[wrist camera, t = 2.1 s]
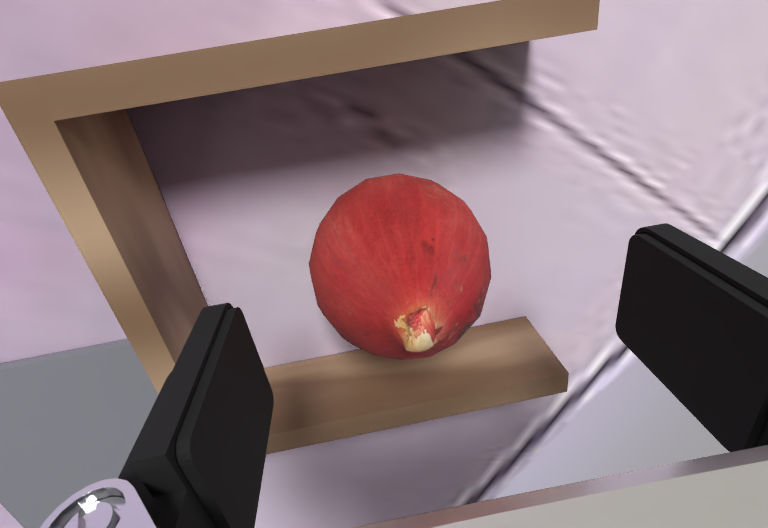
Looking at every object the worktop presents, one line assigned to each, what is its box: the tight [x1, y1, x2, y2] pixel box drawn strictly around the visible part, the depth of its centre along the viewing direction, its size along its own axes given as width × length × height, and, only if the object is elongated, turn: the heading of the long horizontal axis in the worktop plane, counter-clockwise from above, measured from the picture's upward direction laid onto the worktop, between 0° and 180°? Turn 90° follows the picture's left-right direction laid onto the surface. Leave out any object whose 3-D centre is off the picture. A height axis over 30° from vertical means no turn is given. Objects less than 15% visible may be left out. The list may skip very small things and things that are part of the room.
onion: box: [309, 174, 491, 360], centre depth 13 cm, size 6×6×8 cm
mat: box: [0, 339, 159, 528], centre depth 20 cm, size 10×10×1 cm
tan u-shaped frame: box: [0, 0, 600, 454], centre depth 15 cm, size 14×15×4 cm
